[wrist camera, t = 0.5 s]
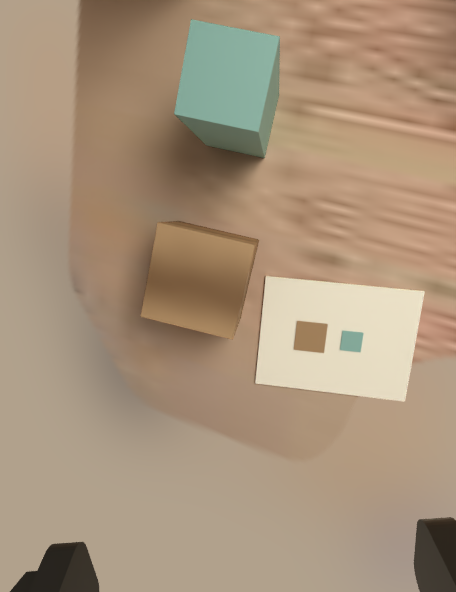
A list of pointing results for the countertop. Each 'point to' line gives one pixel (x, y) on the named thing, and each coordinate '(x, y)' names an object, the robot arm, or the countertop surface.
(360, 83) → the countertop surface
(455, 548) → the robot arm
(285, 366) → the page
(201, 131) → the teal brick
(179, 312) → the tower base
